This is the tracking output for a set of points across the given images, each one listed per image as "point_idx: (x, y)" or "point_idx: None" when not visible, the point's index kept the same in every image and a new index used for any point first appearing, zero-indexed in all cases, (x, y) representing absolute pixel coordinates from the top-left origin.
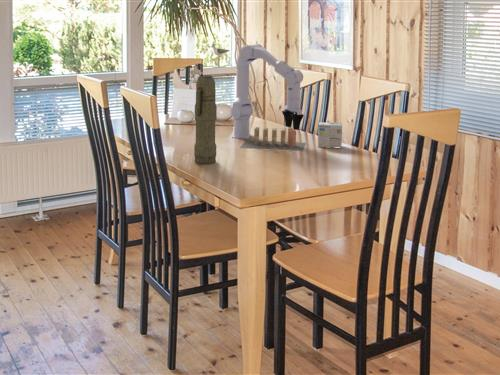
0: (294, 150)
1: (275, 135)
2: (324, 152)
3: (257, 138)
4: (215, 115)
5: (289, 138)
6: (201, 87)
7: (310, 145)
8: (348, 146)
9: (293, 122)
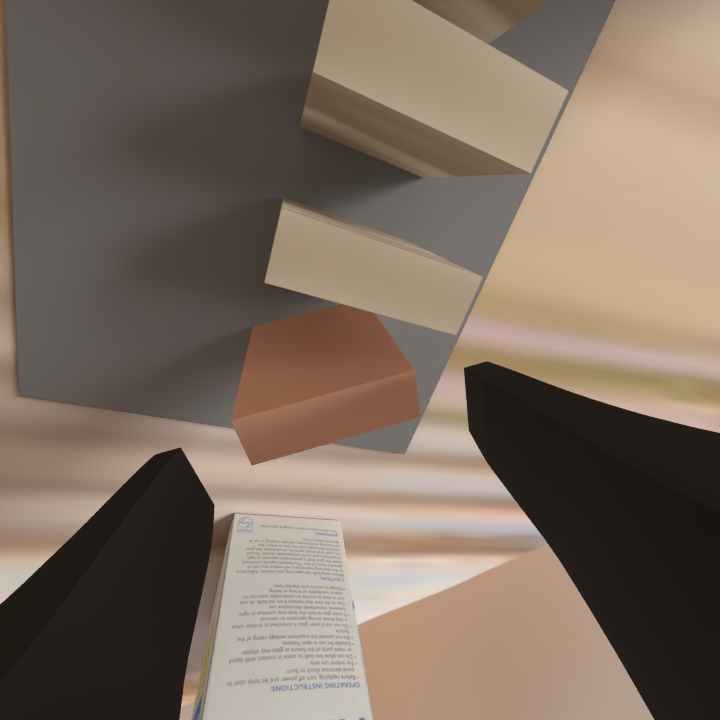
0: (28, 313)
1: (308, 99)
2: (51, 543)
3: None
4: None
5: (335, 332)
6: None
7: (327, 472)
8: None
9: (26, 590)
